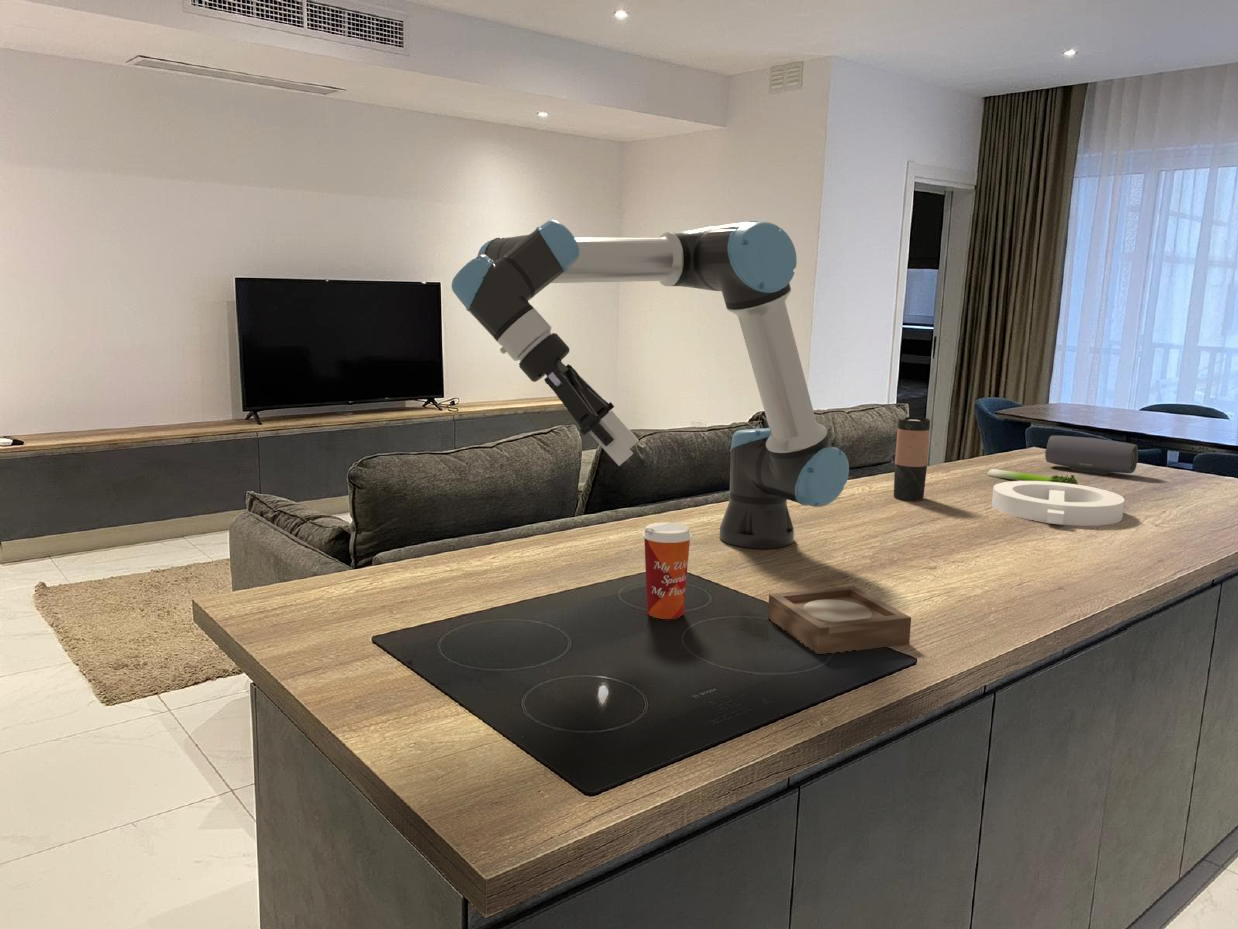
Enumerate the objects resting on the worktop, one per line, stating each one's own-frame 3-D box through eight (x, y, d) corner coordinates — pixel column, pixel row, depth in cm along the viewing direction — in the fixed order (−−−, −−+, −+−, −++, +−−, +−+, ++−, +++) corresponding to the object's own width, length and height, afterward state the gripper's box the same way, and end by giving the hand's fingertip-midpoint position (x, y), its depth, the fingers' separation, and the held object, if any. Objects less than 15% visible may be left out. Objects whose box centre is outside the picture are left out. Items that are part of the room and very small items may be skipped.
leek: (1002, 482, 257) (1086, 495, 229) (982, 486, 255) (1064, 501, 227) (1000, 461, 257) (1084, 472, 228) (980, 465, 254) (1062, 477, 226)
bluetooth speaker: (1136, 475, 259) (1140, 441, 257) (1127, 479, 253) (1131, 444, 251) (1053, 464, 275) (1057, 432, 273) (1043, 468, 268) (1046, 435, 266)
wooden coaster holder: (767, 618, 140) (769, 594, 139) (851, 609, 144) (853, 585, 143) (818, 655, 126) (819, 628, 125) (909, 643, 130) (911, 617, 129)
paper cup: (656, 625, 136) (658, 536, 133) (632, 610, 143) (633, 524, 140) (699, 618, 140) (702, 530, 137) (674, 603, 146) (676, 519, 144)
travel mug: (926, 502, 221) (932, 421, 217) (893, 500, 223) (899, 420, 219) (922, 495, 229) (928, 417, 225) (891, 493, 230) (896, 416, 226)
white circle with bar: (1056, 496, 232) (1057, 478, 231) (1150, 522, 205) (1153, 502, 205) (966, 503, 223) (968, 484, 222) (1053, 531, 197) (1056, 510, 196)
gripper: (531, 360, 147) (617, 456, 149) (499, 368, 123) (603, 483, 124) (565, 329, 146) (651, 426, 148) (539, 331, 122) (643, 448, 123)
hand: (629, 452), depth 136 cm, fingers open, 13 cm apart
